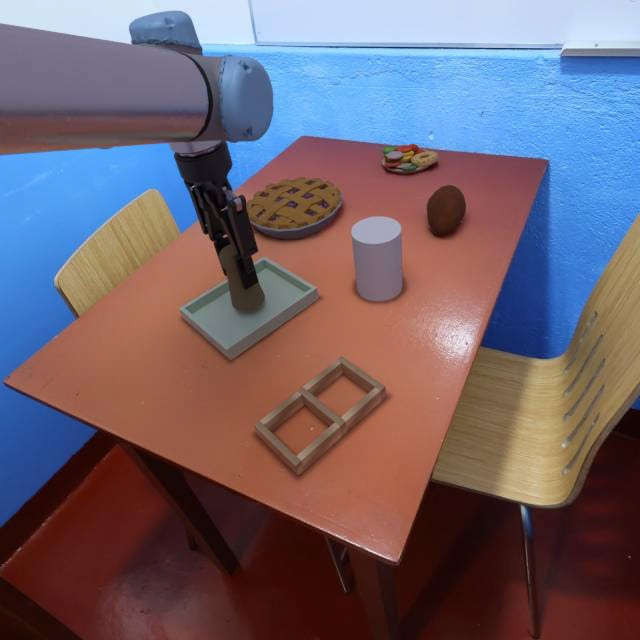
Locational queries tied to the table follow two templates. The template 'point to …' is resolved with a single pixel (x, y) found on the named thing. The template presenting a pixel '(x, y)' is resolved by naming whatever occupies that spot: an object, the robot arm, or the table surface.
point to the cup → (377, 257)
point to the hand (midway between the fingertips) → (241, 278)
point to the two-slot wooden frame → (320, 413)
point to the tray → (249, 326)
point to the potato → (445, 209)
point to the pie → (294, 207)
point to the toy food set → (407, 159)
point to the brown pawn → (239, 284)
